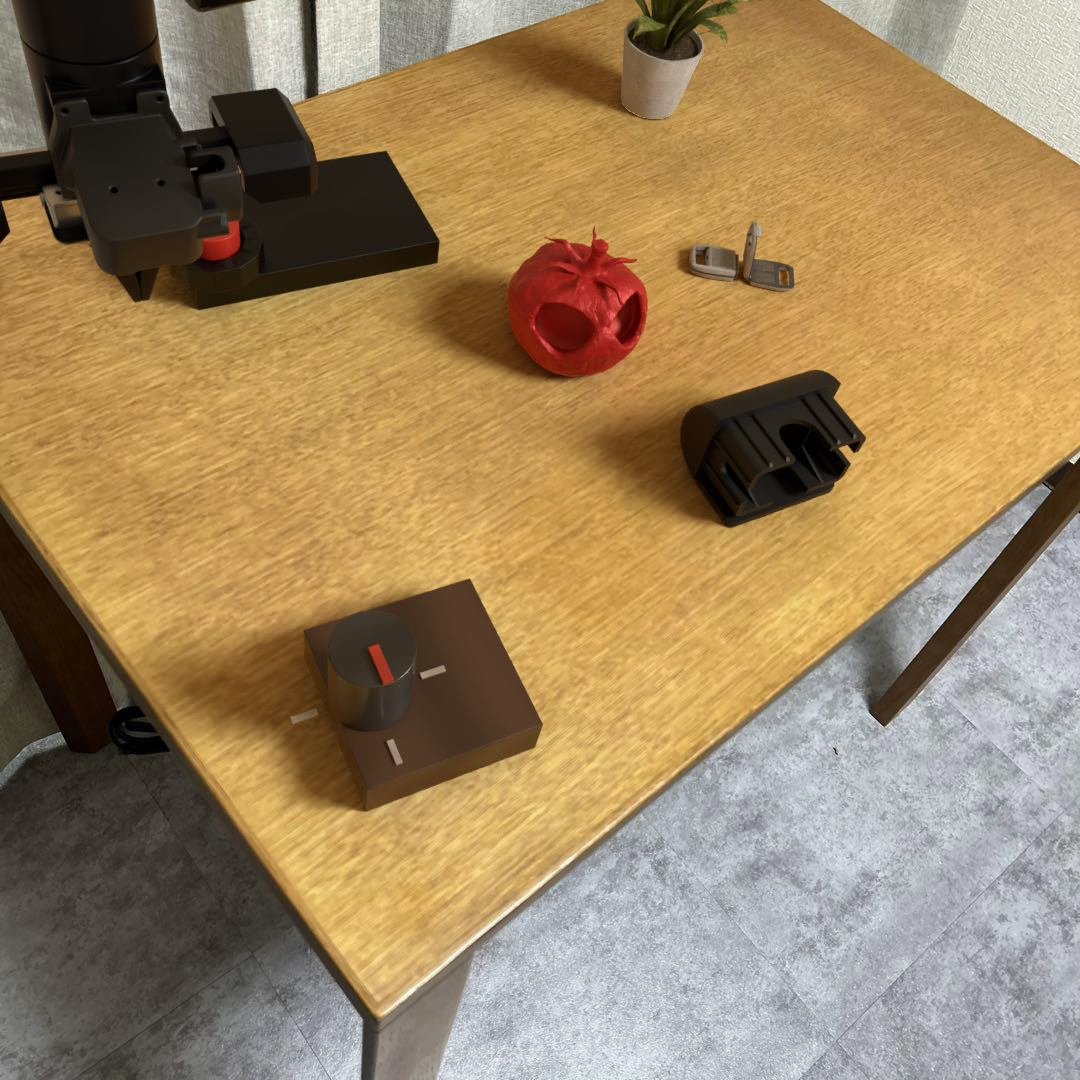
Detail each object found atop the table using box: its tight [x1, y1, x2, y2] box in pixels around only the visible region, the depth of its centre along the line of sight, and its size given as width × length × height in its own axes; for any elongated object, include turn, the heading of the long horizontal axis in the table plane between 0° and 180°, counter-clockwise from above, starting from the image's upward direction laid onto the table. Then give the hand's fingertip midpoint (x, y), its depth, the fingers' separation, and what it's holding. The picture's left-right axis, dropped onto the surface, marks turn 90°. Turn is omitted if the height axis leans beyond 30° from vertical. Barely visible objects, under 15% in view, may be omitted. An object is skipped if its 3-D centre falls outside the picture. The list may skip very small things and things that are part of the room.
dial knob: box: [327, 609, 417, 731], centre depth 57 cm, size 4×4×5 cm
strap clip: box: [688, 221, 796, 292], centre depth 87 cm, size 8×3×4 cm, turn 85°
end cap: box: [679, 369, 867, 528], centre depth 74 cm, size 10×7×7 cm
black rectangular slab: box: [167, 150, 441, 311], centre depth 81 cm, size 19×12×4 cm, turn 115°
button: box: [199, 221, 241, 261], centre depth 75 cm, size 4×4×2 cm
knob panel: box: [289, 577, 544, 812], centre depth 61 cm, size 12×10×3 cm
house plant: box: [620, 0, 755, 119], centre depth 93 cm, size 14×14×16 cm
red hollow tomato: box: [506, 225, 649, 378], centre depth 77 cm, size 10×10×9 cm
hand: (139, 296), depth 61 cm, fingers closed
